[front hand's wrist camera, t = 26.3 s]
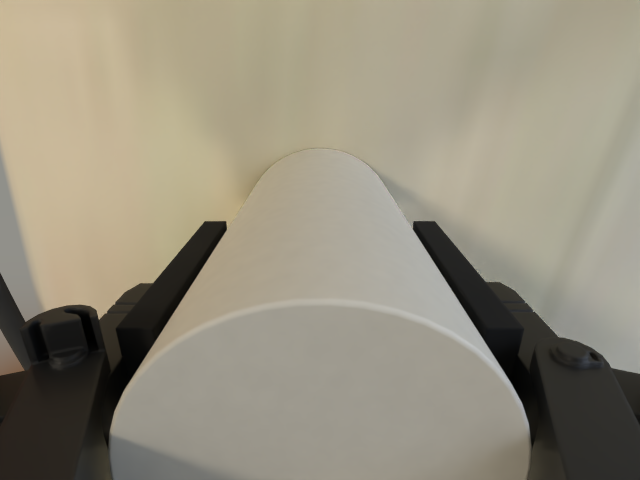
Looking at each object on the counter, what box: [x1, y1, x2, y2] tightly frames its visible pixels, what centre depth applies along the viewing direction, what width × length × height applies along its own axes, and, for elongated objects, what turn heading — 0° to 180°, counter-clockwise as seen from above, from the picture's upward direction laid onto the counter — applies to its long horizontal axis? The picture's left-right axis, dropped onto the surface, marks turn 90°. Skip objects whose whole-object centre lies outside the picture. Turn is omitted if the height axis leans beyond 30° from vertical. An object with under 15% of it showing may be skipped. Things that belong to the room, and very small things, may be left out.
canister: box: [108, 148, 532, 480], centre depth 12 cm, size 7×7×13 cm
